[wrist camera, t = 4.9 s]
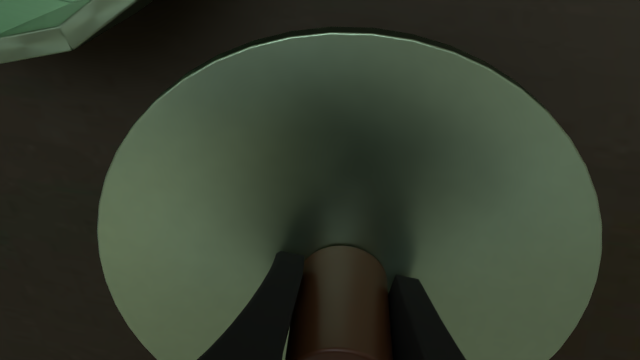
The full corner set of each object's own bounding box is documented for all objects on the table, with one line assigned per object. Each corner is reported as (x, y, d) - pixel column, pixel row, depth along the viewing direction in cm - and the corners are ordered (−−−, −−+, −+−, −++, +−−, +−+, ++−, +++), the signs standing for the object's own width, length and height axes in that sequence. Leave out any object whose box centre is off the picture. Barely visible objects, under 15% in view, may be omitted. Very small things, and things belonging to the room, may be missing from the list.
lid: (111, 364, 18) (41, 503, 14) (115, -41, 11) (-16, 1, 7) (482, 435, 19) (516, 586, 15) (687, 90, 12) (851, 194, 8)
